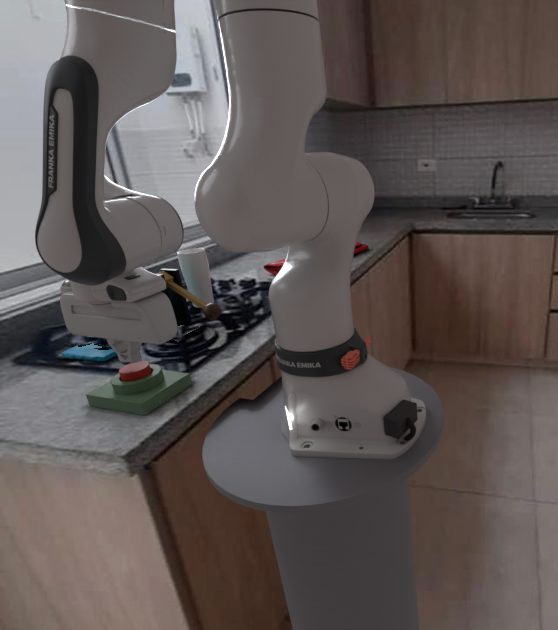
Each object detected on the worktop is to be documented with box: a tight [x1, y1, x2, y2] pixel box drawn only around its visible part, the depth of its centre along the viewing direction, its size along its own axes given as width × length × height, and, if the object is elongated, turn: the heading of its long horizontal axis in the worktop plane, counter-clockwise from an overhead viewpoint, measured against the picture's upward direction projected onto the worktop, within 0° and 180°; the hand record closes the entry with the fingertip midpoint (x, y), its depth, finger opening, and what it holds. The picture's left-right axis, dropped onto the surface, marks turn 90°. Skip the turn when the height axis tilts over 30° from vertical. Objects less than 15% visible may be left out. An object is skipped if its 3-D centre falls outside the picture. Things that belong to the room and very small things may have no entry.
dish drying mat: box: [262, 241, 369, 276], centre depth 159 cm, size 16×41×4 cm, turn 154°
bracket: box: [155, 268, 208, 345], centre depth 98 cm, size 8×9×15 cm
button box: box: [85, 363, 193, 416], centre depth 75 cm, size 12×10×4 cm
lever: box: [155, 271, 222, 321], centre depth 95 cm, size 16×4×4 cm, turn 73°
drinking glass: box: [176, 247, 215, 309], centre depth 116 cm, size 7×7×15 cm
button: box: [118, 360, 152, 382], centre depth 74 cm, size 4×4×2 cm
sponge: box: [61, 342, 118, 362], centre depth 92 cm, size 2×12×6 cm
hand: (131, 361), depth 73 cm, fingers closed
